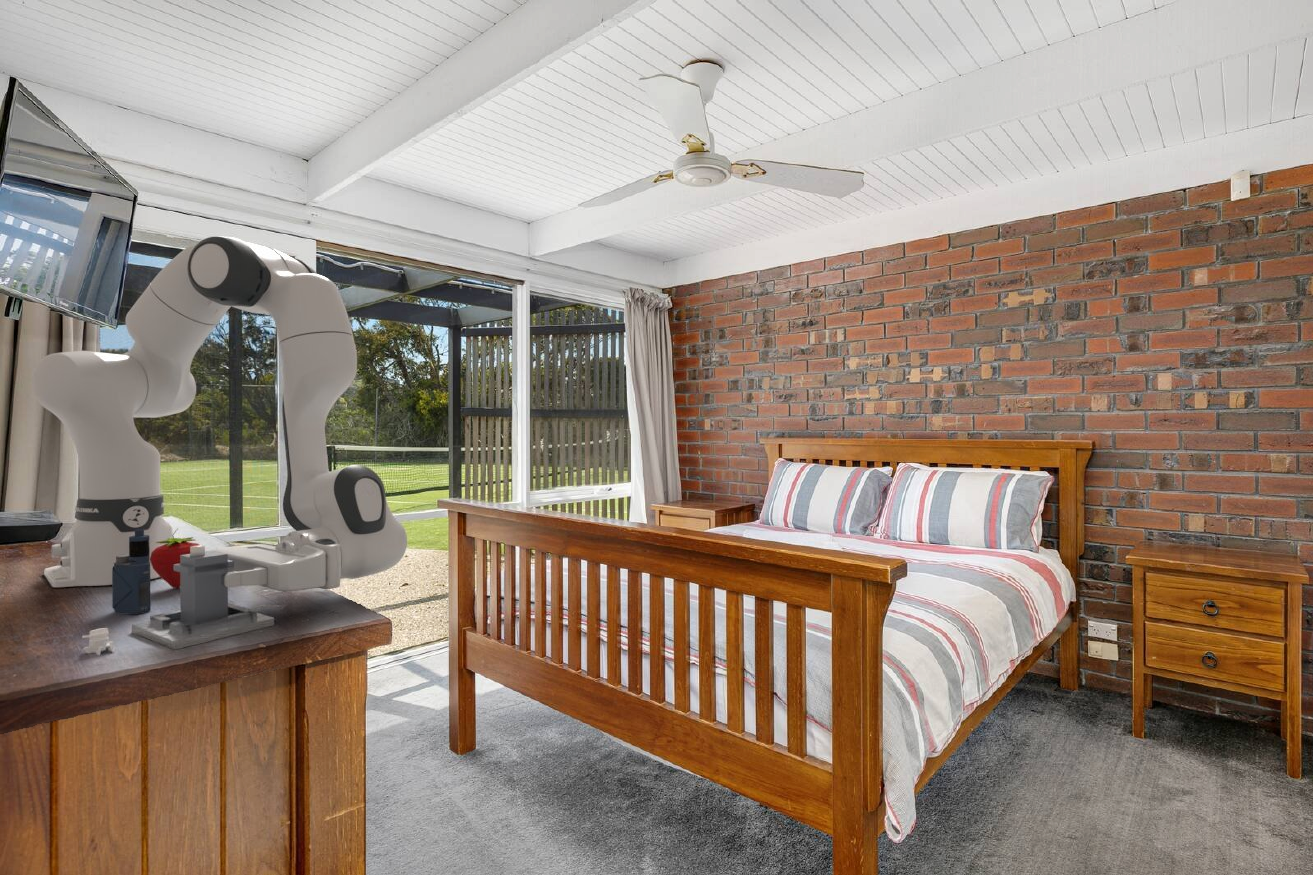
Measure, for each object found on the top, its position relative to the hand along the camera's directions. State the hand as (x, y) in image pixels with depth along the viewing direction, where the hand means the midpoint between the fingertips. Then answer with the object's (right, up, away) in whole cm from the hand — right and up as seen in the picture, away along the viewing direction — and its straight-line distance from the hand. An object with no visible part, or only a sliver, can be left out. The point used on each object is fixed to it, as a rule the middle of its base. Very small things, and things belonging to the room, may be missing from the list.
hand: (205, 576), depth 91 cm
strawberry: (-19, -6, +21) cm, 29 cm away
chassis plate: (0, -7, 0) cm, 7 cm away
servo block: (0, -7, 0) cm, 7 cm away
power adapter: (-6, -8, -10) cm, 14 cm away
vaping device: (-16, -7, +7) cm, 19 cm away
